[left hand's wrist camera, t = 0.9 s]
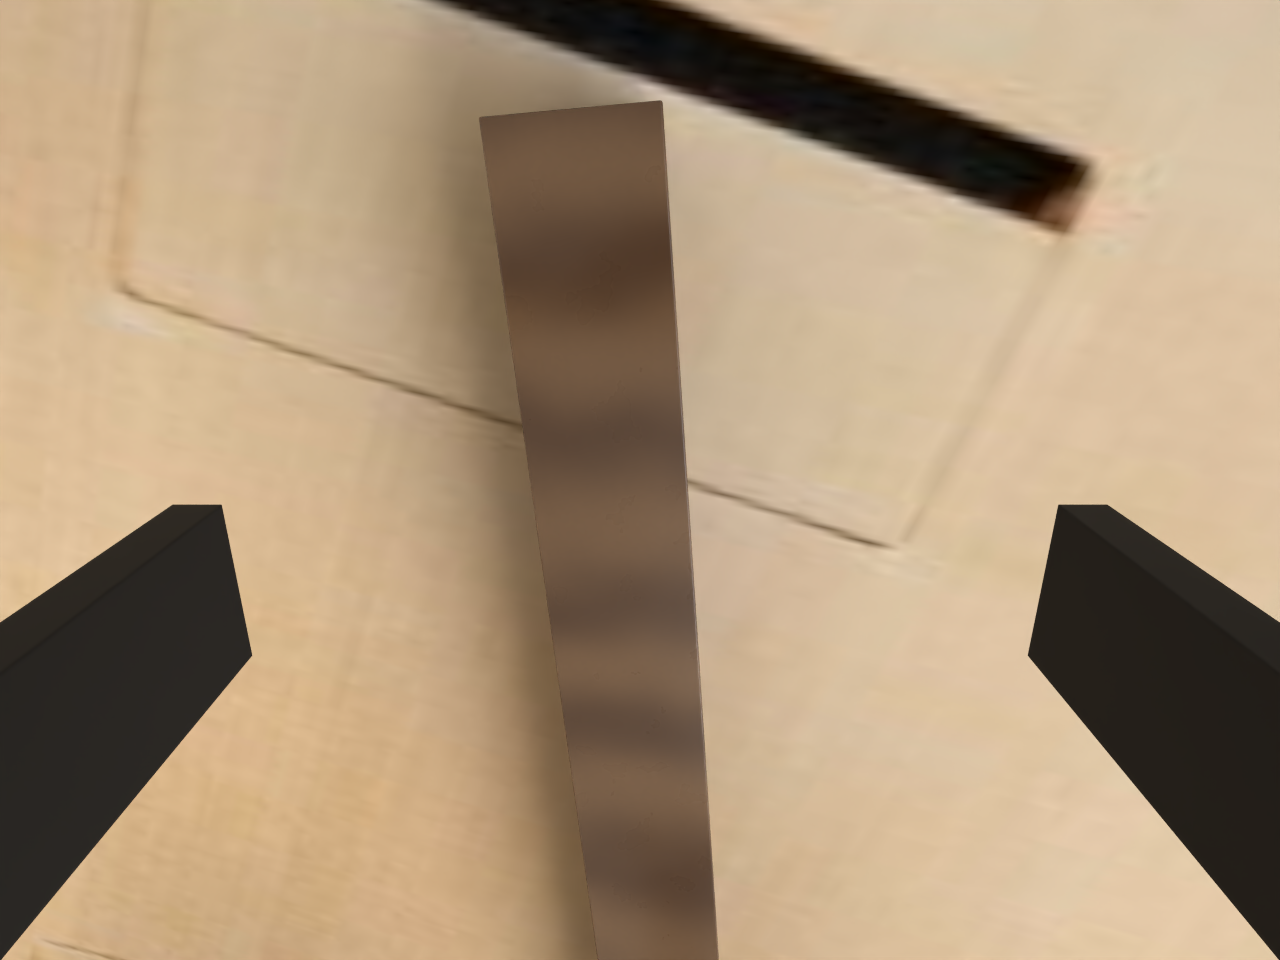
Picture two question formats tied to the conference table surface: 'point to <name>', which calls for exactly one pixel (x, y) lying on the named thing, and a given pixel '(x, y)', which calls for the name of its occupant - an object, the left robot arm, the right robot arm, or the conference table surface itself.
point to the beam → (611, 504)
